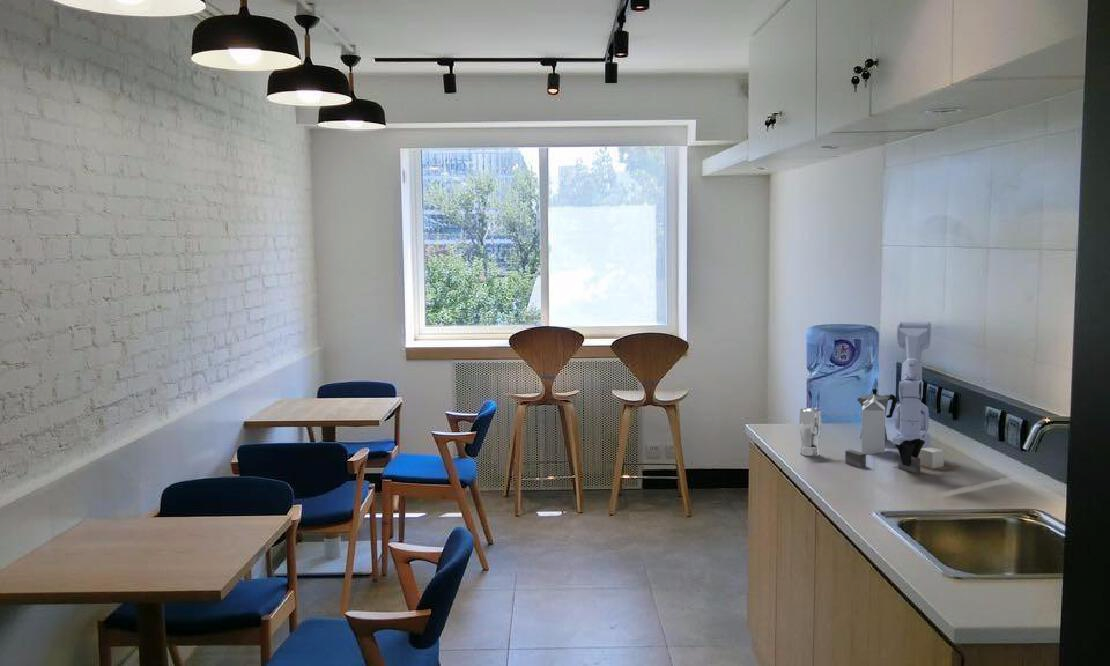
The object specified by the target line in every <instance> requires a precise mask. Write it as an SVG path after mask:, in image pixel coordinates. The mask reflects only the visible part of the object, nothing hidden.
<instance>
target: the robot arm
mask: <svg viewBox="0 0 1110 666" xmlns="http://www.w3.org/2000/svg"><path fill="white" fill-rule="evenodd" d="M896 326H897V327H896V339H897V344H898V347H899V348H901V349H903V350H904V351H905V357H906V360H904V361H903V362H902V364H901V376H900V377H901V378H900V381H899V384H898V397H899V404H897V405H896V406H895V420H894V421H895V422H894V424H895V426H894V427H895V429H896V430H897V431H898V432H896V435H895V436H894V437H892V444H893V445H894V446H895V447H896V449H897V450H898V456H899V455H900V457H901V461H902V465H905V466H910V463H911V456H913V457H917V458H919V453H920V450H921V449H922V448H927V447H932V438H931V435H930V434H929V433H928V431H929V429H930V428H929V427H930V426H929V424H930V423H929V421H930V416H929V415H930V413H929V407H928V406H927V405H926V404H924V403H923V402H922V399H923V398H924V397H923V395H924V394H923V393H924V382H923V364H922V360H921V359H922V354H923V351H924V350H926V349H929V348H930V346H931V340H932V339H931V337H932V333H931V332H932V324H931V322H930V321H901V320H899V322H897V325H896Z"/></svg>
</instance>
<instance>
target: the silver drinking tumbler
mask: <svg viewBox="0 0 1110 666" xmlns="http://www.w3.org/2000/svg"><path fill="white" fill-rule="evenodd" d="M798 420H799V421H798V422H799V425H798V426H799V433H800V439H801V449H800V452H799V453H800V455H801V456H804V457H810V458H811V457H813V458H814V457H819V456H820V448H819V442H820V441H819V440H820V435H821V431H822V430H821V429H822V410H821V409H820V408H817V407H802V408H800V409H799V419H798Z"/></svg>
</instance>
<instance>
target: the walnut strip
mask: <svg viewBox="0 0 1110 666" xmlns="http://www.w3.org/2000/svg"><path fill="white" fill-rule="evenodd" d="M920 460H921V458H917V457H913V456H911V463H910V466H905V465H902V461H901V457H900V455H899V454H898V459H897V461H898V462H897V463H898V465H896V466H892V468H894V469H897V470H901V471H905V472H908V473H912V474H916V475H919V476H920V475H924V474H928V473H935V472H939V471H944V470H949V469H954V468H959V467H960V465H957V464H953V463H949V462H945V461H944V466H943V467H938V468H933V469H932V468H928V467H924V466H920Z"/></svg>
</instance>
